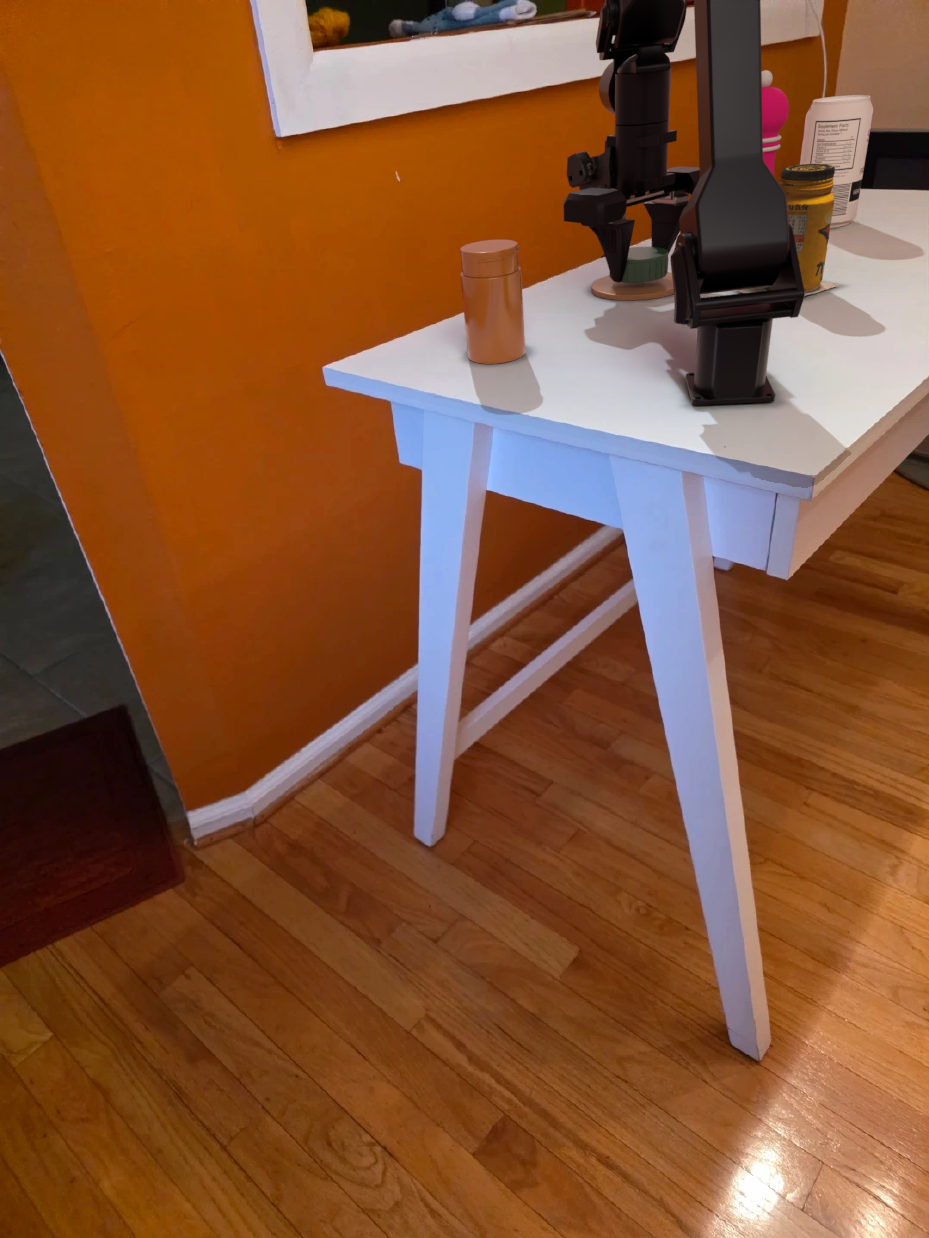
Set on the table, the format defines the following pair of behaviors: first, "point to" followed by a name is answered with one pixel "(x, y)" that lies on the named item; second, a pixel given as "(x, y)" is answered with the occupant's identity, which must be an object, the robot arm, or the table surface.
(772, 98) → the pink bowling pin
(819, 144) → the supplement can
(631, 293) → the coaster
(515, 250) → the jam jar
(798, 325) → the table surface
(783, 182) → the condiment
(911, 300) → the table surface
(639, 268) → the jam lid
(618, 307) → the table surface
